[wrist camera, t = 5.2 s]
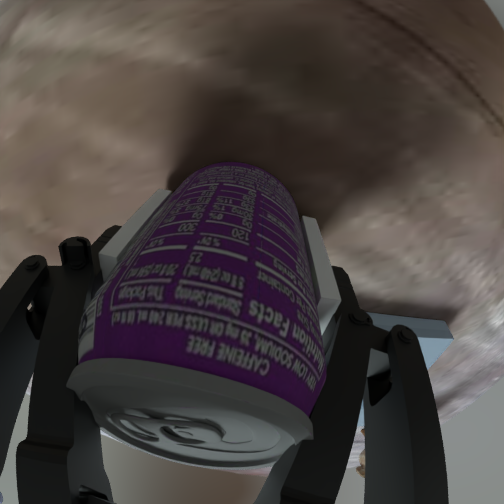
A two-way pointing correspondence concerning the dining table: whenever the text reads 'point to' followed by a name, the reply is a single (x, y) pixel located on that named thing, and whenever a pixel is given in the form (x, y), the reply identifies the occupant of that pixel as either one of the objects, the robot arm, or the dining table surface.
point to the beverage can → (208, 328)
